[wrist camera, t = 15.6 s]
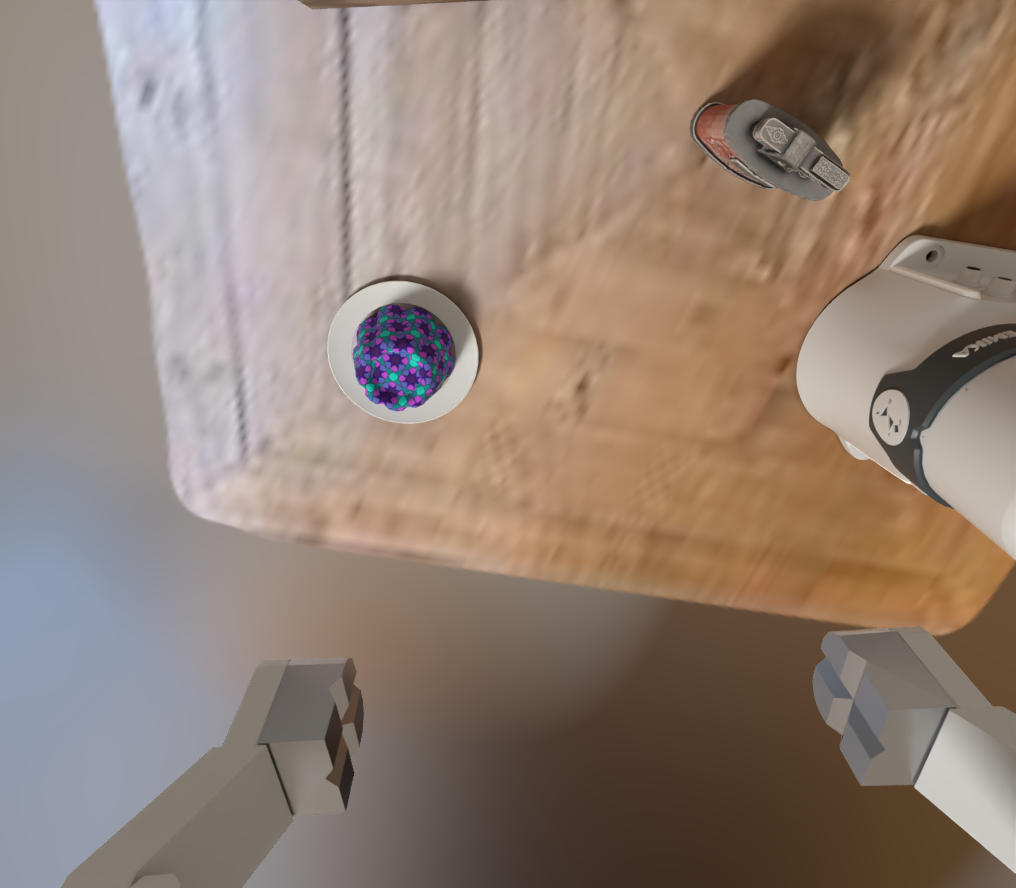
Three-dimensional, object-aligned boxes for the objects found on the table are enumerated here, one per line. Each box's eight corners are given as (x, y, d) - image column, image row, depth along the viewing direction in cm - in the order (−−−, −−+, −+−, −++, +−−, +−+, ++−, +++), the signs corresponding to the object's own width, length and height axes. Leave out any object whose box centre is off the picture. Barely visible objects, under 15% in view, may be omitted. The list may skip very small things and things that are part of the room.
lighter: (678, 138, 42) (729, 144, 33) (709, 89, 40) (770, 81, 32) (767, 199, 44) (837, 220, 35) (799, 154, 42) (880, 164, 34)
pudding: (392, 443, 53) (383, 474, 48) (297, 333, 48) (277, 356, 43) (507, 371, 50) (508, 397, 45) (418, 246, 45) (410, 261, 40)
